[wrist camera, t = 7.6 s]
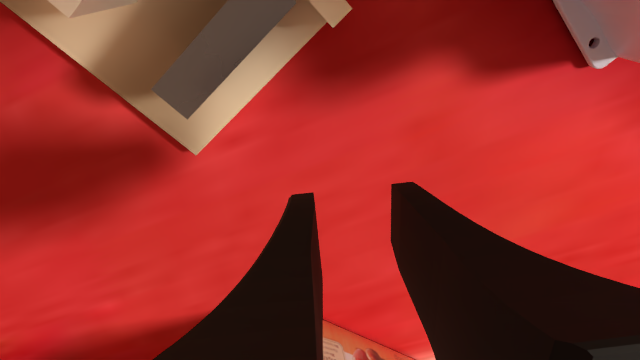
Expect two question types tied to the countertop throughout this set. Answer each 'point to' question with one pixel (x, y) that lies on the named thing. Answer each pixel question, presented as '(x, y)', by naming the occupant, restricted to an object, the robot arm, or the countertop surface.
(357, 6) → the countertop surface
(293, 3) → the bookend
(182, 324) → the countertop surface
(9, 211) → the countertop surface
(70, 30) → the shelf
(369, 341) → the cracker box
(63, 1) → the beige wooden cube
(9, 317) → the countertop surface
